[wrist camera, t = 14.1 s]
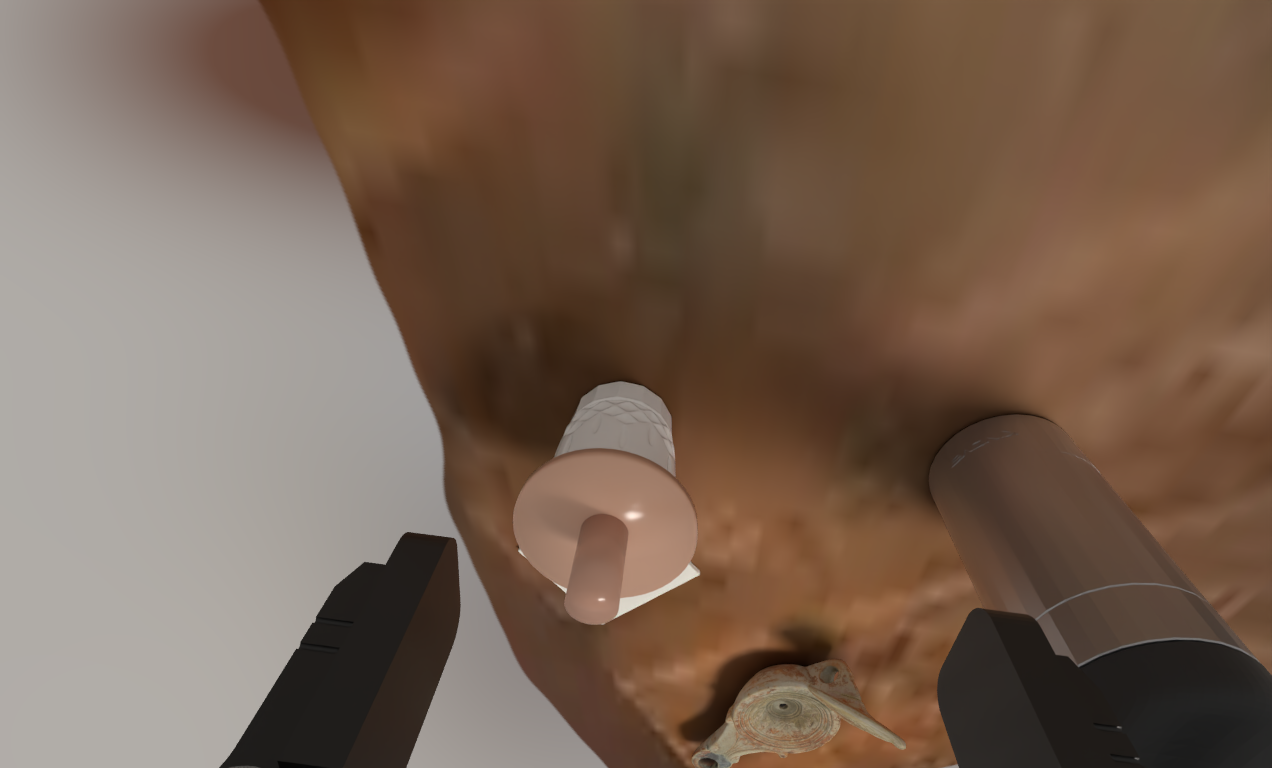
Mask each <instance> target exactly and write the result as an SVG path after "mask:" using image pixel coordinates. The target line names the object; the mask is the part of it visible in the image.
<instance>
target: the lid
mask: <svg viewBox="0 0 1272 768" xmlns="http://www.w3.org/2000/svg"><path fill="white" fill-rule="evenodd" d="M513 529H514V534H515V537H516V540H517V543H518V545H519V547H520V549H521V551H522V553H523V554H524V556H525V557H526V558H527V560H528V561H529V562H530V563H531V564H532V565H533V566H534V567H535V568H536V569H537V570H538V571H539V572H540V573H541V574H543V575H544V576H545V577H547V578H548V579H550V580H551V581H553V582H555V583H556V584H558V585H560V586H562V587H564V588H567V592H566V596H565V601H564V605H565V608H566V611H567V612H568V613H569V615H570V616H572V617H573V618H574V619H576V620H578V621H580V622H582V623H586V624H592V625H598V624H604V623H607V622H609V621H611V620H612V619H614V618H615V617H616V615H617V613H618V610H619V603H620V598H626V597H634V596H639V595H643V594H646V593H649V592H653V591H655V590H657V589H659V588H662V587H663V586H665V585H667V584H668V583H670V582H672V581H673V580H674V579H675V578H677V577H678V576H679V575H680V574H681V573H682V572H683V571H684V570H685V568H686V567H687V566H688V564H689V563H690V561H691V559H692V557H693V555H694V553H695V549H696V545H697V537H698V523H697V514H696V510H695V506H694V504H693V501H692V499H691V497H690V495H689V494H688V492H687V491H686V489H685V488H684V486H683V485H682V484H681V483H680V482H679V480H678V479H676V478H675V477H674V476H673V475H672V474H671V473H670V472H669V471H667V470H666V469H664V468H663V467H662V466H660V465H658V464H657V463H655V462H653V461H651V460H649V459H647V458H644V457H642V456H639V455H637V454H633V453H630V452H626V451H621V450H616V449H605V448H591V449H582V450H575V451H572V452H568V453H564V454H562V455H559V456H557V457H555V458H552V459H551V460H549V461H547V462H545V463H544V464H542V465H541V466H540V467H539V468H537V469H536V470H535V471H534V472H533V473H532V474H531V475H530V476H529V477H528V479H527V480H526V482H525V483H524V485H523V487H522V489H521V491H520V493H519V496H518V499H517V502H516V505H515V508H514V513H513Z"/></svg>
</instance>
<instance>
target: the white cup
mask: <svg viewBox="0 0 1272 768" xmlns="http://www.w3.org/2000/svg"><path fill="white" fill-rule="evenodd" d="M591 448H605V449H616V450H621V451H626V452H630V453H633V454H637V455H639V456H642V457H644V458H647V459H649V460H651V461H653V462H655V463H657V464H658V465H660V466H662V467H663V468H664V469H666V470H667V471H669V472H670V473H671V474H672V475H673V476H674V477H675V478H676V466H675V464H676V463H675V453H674V445H673V441H672V417H671V415H670V413H669V411H668V409H667V408H666V406H665V404H664V402H663V400H662V399H661V398H660V397H658V396H657V395H656V394H654V393H653V392H651V391H650V390H648V389H647V388H646V387H644V386H641V385H637V384H632V383H627V382H623V381H619V382H613V383H608V384H602V385H598V386H597V387H596V388H594V389H593V390H591V391H590V392H589V393H587V394H586V395H584V396H583V397H582V398H581V400H580V402H579V404H578V406H577V408H576V410H575V413H574V415H573V417H572V420H571V422H570V424H568V426H567V428H566V430H565V433H564V435H563V437H562V439H561V441H560V444H559V446H558V448H557V451H556V453H555V456H554V458H555V457H557V456H559V455H562V454H564V453H568V452H572V451H575V450H582V449H591Z"/></svg>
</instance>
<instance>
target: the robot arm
mask: <svg viewBox="0 0 1272 768" xmlns="http://www.w3.org/2000/svg"><path fill="white" fill-rule="evenodd" d="M929 489H930V492H931V494H932V497H933V499H934V501H935V504H936V506H937V508H938V510H939V512H940V514H941V517H942V519H943V521H944V523H945V525H946V527H947V529H948V532H949V534H950V536H951V539H952V541H953V543H954V545H955V547H956V549H957V551H958V554H959V556H960V558H961V560H962V562H963V564H964V566H965V569H966V571H967V573H968V575H969V577H970V579H971V581H972V583H973V586H974V588H975V590H976V592H977V594H978V596H979V598H980V601H981V603H982V605H983V607H984V609H982V608H976V609H974V610H972V611H971V612H970V614H969V615H968V617H967V619H966V621H965V623H964V625H963V627H962V629H961V631H960V633H959V634H958V636H957V638H956V640H955V642H954V644H953V646H952V648H951V650H950V652H949V654H948V656H947V658H946V660H945V662H944V664H943V666H942V668H941V670H940V673H939V678H938V688H937V693H938V703H939V708H940V712H941V715H942V718H943V721H944V724H945V727H946V730H947V733H948V736H949V739H950V742H951V745H952V748H953V751H954V754H955V757H956V760H957V763H958V766H959V768H1272V675H1271V674H1270V673H1269V672H1268V671H1267V670H1266V668H1265V667H1264V666H1263V665H1262V664H1261V663H1260V662H1259V661H1258V660H1257V659H1256V657H1255V656H1254V655H1253V654H1252V653H1251V652H1250V650H1249V649H1248V648H1247V647H1246V646H1245V644H1244V643H1243V642H1242V641H1241V640H1240V638H1239V637H1238V636H1237V635H1236V634H1235V633H1234V631H1233V630H1232V629H1231V628H1230V627H1229V625H1228V624H1227V623H1226V622H1225V621H1224V620H1223V618H1222V617H1221V616H1220V615H1219V614H1218V612H1217V611H1216V610H1215V609H1214V608H1213V607H1212V605H1211V604H1209V602H1208V601H1207V600H1206V599H1205V598H1204V596H1203V595H1202V594H1201V593H1200V592H1199V590H1198V589H1197V588H1196V587H1195V586H1194V584H1193V583H1192V582H1191V581H1190V580H1189V578H1188V577H1187V576H1186V575H1185V574H1184V573H1183V571H1182V570H1181V569H1180V568H1179V567H1178V565H1177V564H1176V563H1175V562H1174V561H1173V559H1172V558H1171V557H1170V556H1169V555H1168V553H1167V552H1166V551H1165V550H1164V549H1163V548H1162V546H1161V545H1160V544H1159V543H1158V542H1157V540H1156V539H1155V538H1154V537H1153V536H1152V534H1151V533H1150V532H1149V531H1148V530H1147V528H1146V527H1145V526H1144V525H1143V524H1142V523H1141V521H1140V520H1139V519H1138V518H1137V517H1136V515H1135V514H1134V513H1133V512H1132V511H1131V509H1130V508H1129V507H1128V506H1127V505H1126V503H1125V502H1124V501H1123V500H1122V499H1121V498H1120V496H1119V495H1118V494H1117V493H1116V492H1115V490H1114V489H1113V488H1112V487H1111V486H1110V484H1109V483H1108V482H1107V481H1106V480H1105V478H1104V477H1103V476H1102V475H1101V474H1100V472H1099V471H1098V470H1097V469H1096V467H1095V466H1094V465H1093V464H1092V463H1091V461H1090V460H1089V459H1088V458H1087V457H1086V456H1085V454H1084V453H1083V452H1082V451H1081V450H1080V448H1079V447H1078V446H1077V445H1076V444H1075V443H1074V441H1073V440H1072V439H1071V438H1070V437H1069V435H1068V434H1067V433H1066V432H1064V431H1063V430H1062V429H1061V428H1060V427H1059V426H1058V425H1056V424H1054V423H1052V422H1050V421H1048V420H1046V419H1043V418H1039V417H1035V416H1031V415H1018V414H1015V415H1003V416H997V417H993V418H989V419H985V420H982V421H980V422H978V423H975V424H973V425H971V426H968V427H967V428H965V429H964V430H962V431H960V432H959V433H957V434H956V435H955V436H953V437H952V438H951V439H950V440H949V441H948V442H947V443H946V444H944V446H943V447H942V448H941V450H940V451H939V452H938V454H937V455H936V457H935V459H934V461H933V463H932V465H931V468H930V473H929ZM459 617H460V588H459V570H458V554H457V543H456V540H455V539H454V538H449V537H442V536H434V535H426V534H418V533H411V532H407V533H405V534H404V535H403V536H402V537H401V538H400V540H399V542H398V544H397V545H396V547H395V549H394V551H393V552H392V554H391V556H390V558H389V560H388V561H387V563H386V565H383V564H376V563H368V562H364V563H363V564H362V565H361V566H359V567H358V568H357V569H356V570H355V571H353V572H352V573H351V574H350V575H348V576H347V577H346V578H345V579H343V580H342V581H341V582H340V583H339V584H337V585H336V586H335V587H334V589H333V591H332V592H331V594H330V596H329V597H328V599H327V600H326V602H325V603H324V605H323V607H322V608H321V610H320V612H319V613H318V615H317V616H316V621H315V623H312V625H311V626H310V628H309V629H308V631H307V633H306V634H305V636H304V637H303V639H302V641H301V644H300V647H299V649H296V650H295V652H294V653H293V655H292V657H291V658H290V660H289V662H288V663H287V665H286V666H285V668H284V670H283V671H282V673H281V674H280V676H279V678H278V679H277V681H276V682H275V684H274V686H273V687H272V689H271V691H270V692H269V694H268V695H267V697H266V699H265V700H264V702H263V704H262V705H261V707H260V708H259V710H258V711H257V713H256V715H255V717H254V718H253V720H252V721H251V723H250V725H249V726H248V728H247V729H246V731H245V733H244V734H243V736H242V737H241V739H240V741H239V742H238V744H237V745H236V747H235V749H234V750H233V751H232V753H231V754H230V756H229V757H228V758H227V759H226V761H225V762H224V763H223V764H222V765H221V766H220V767H219V768H406V767H407V764H408V761H409V759H410V756H411V753H412V751H413V748H414V746H415V743H416V741H417V738H418V735H419V733H420V730H421V727H422V725H423V722H424V720H425V717H426V714H427V711H428V709H429V706H430V704H431V701H432V699H433V696H434V693H435V691H436V688H437V685H438V683H439V680H440V678H441V675H442V672H443V670H444V667H445V664H446V662H447V659H448V656H449V654H450V651H451V649H452V646H453V643H454V640H455V637H456V633H457V628H458V623H459Z"/></svg>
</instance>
